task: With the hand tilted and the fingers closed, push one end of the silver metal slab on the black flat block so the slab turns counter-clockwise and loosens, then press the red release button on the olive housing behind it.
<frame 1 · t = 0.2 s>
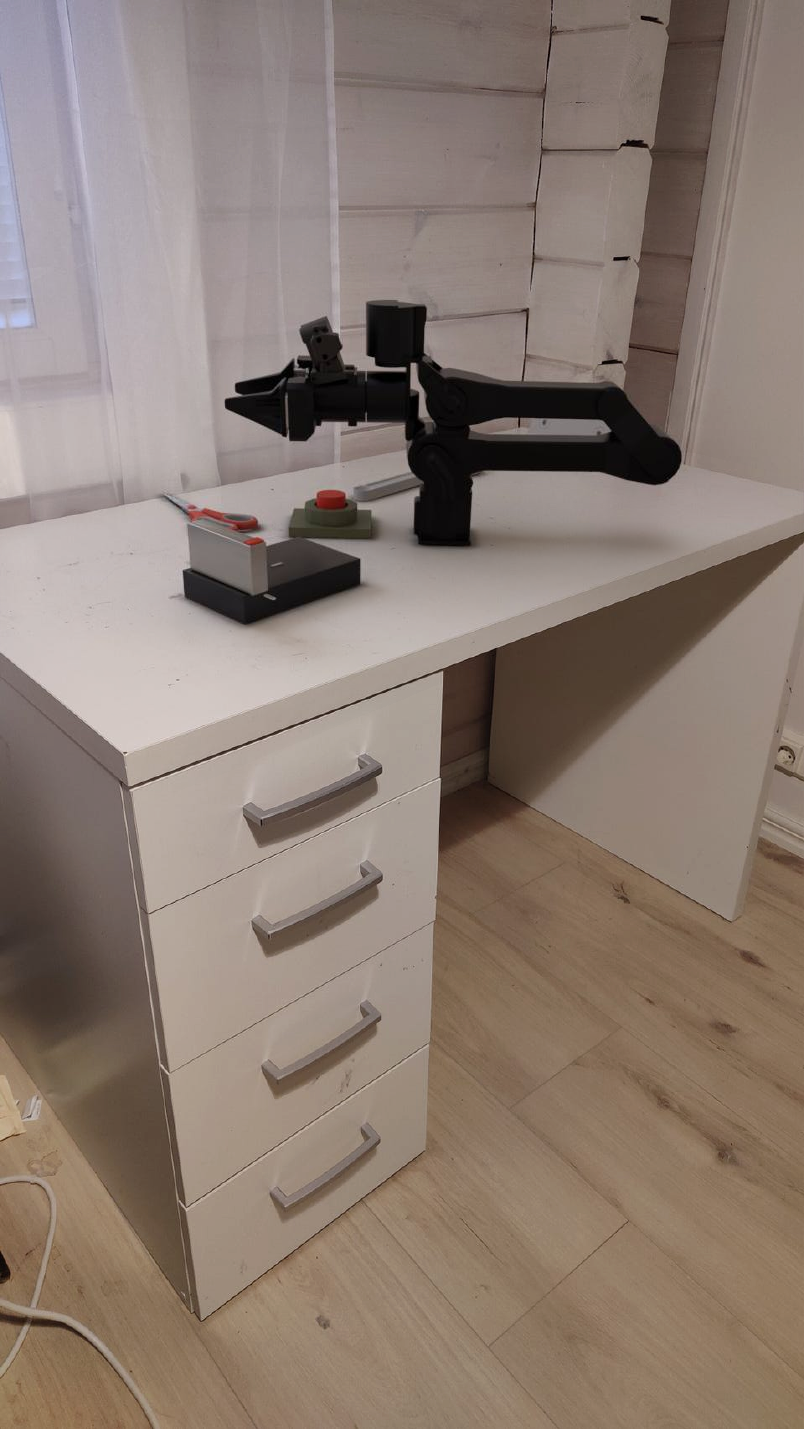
hand: (230, 395, 116), 17 cm above the table, tool horizontal, fingers open, 9 cm apart
hinge: (572, 456, 163), on the table
black flat block: (274, 590, 107), on the table
release button: (331, 500, 125), point 3 cm above the table, slide at 0.1 cm
adjustable wrench: (414, 483, 147), on the table
silver metal slab: (227, 555, 100), point 6 cm above the table, hinge at 0.0°
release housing: (331, 527, 127), on the table
scissors: (192, 518, 129), on the table
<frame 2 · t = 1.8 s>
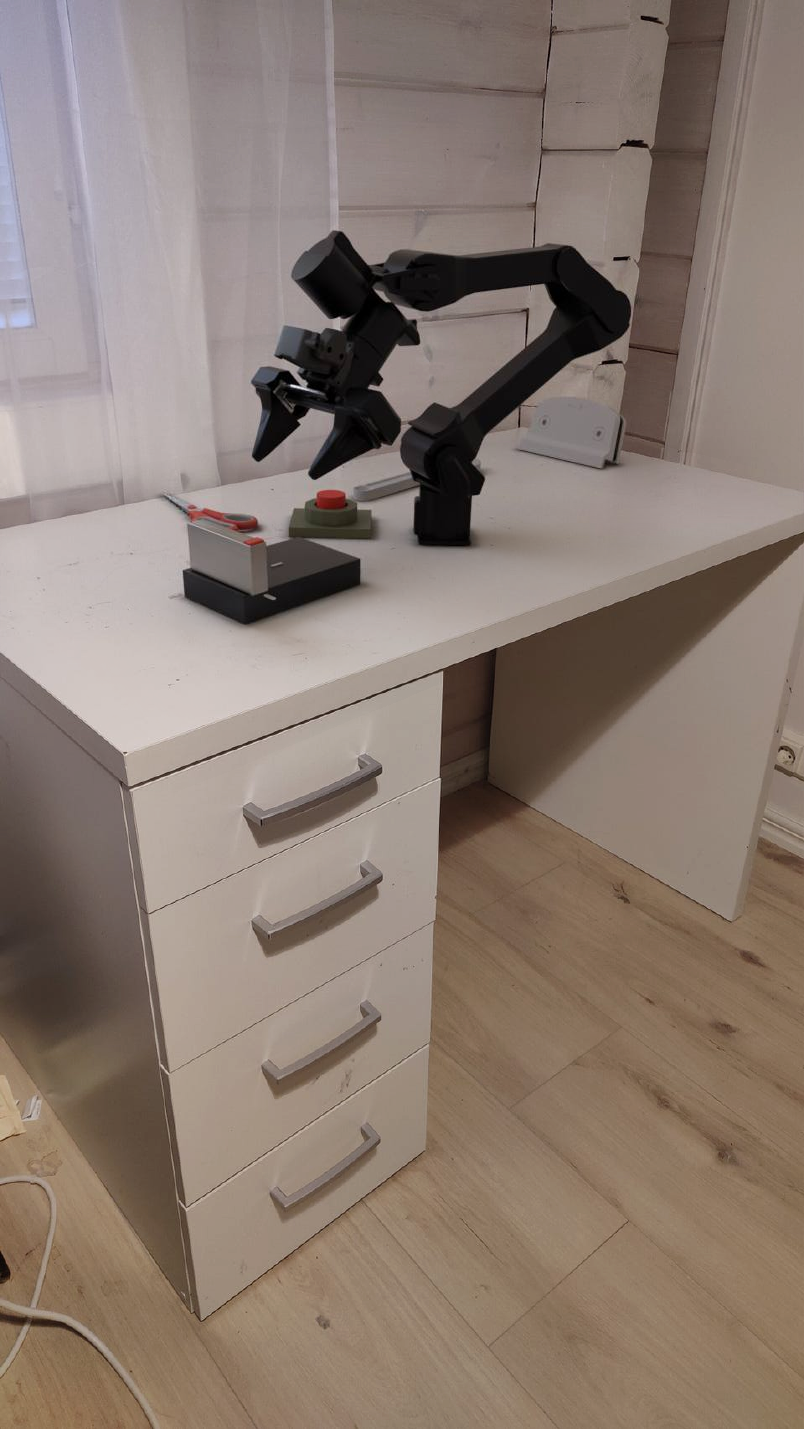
hand: (282, 468, 106), 12 cm above the table, tool tilted 45°, fingers open, 9 cm apart
nothing on the table moved.
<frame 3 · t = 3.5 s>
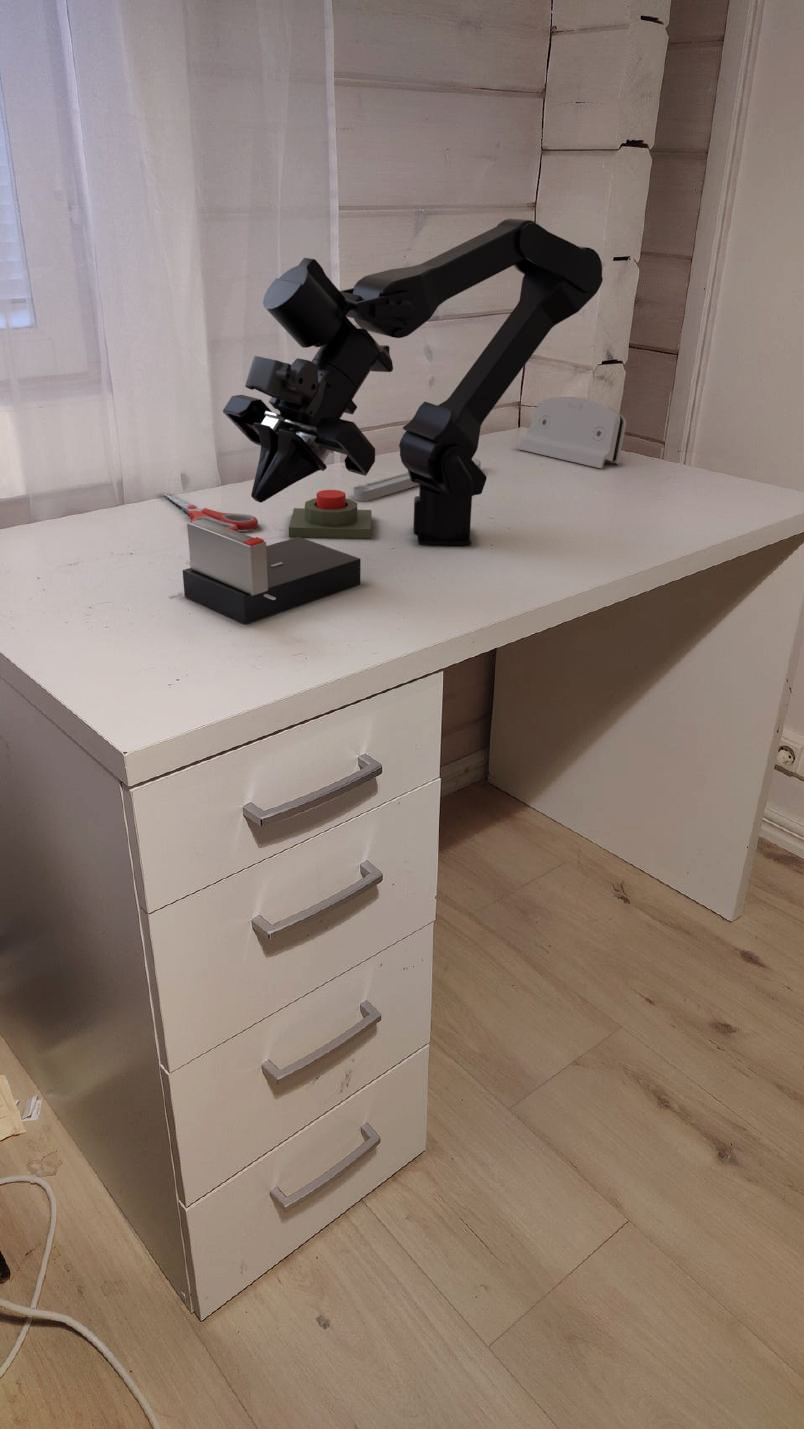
hand: (255, 499, 105), 9 cm above the table, tool tilted 45°, fingers closed
nothing on the table moved.
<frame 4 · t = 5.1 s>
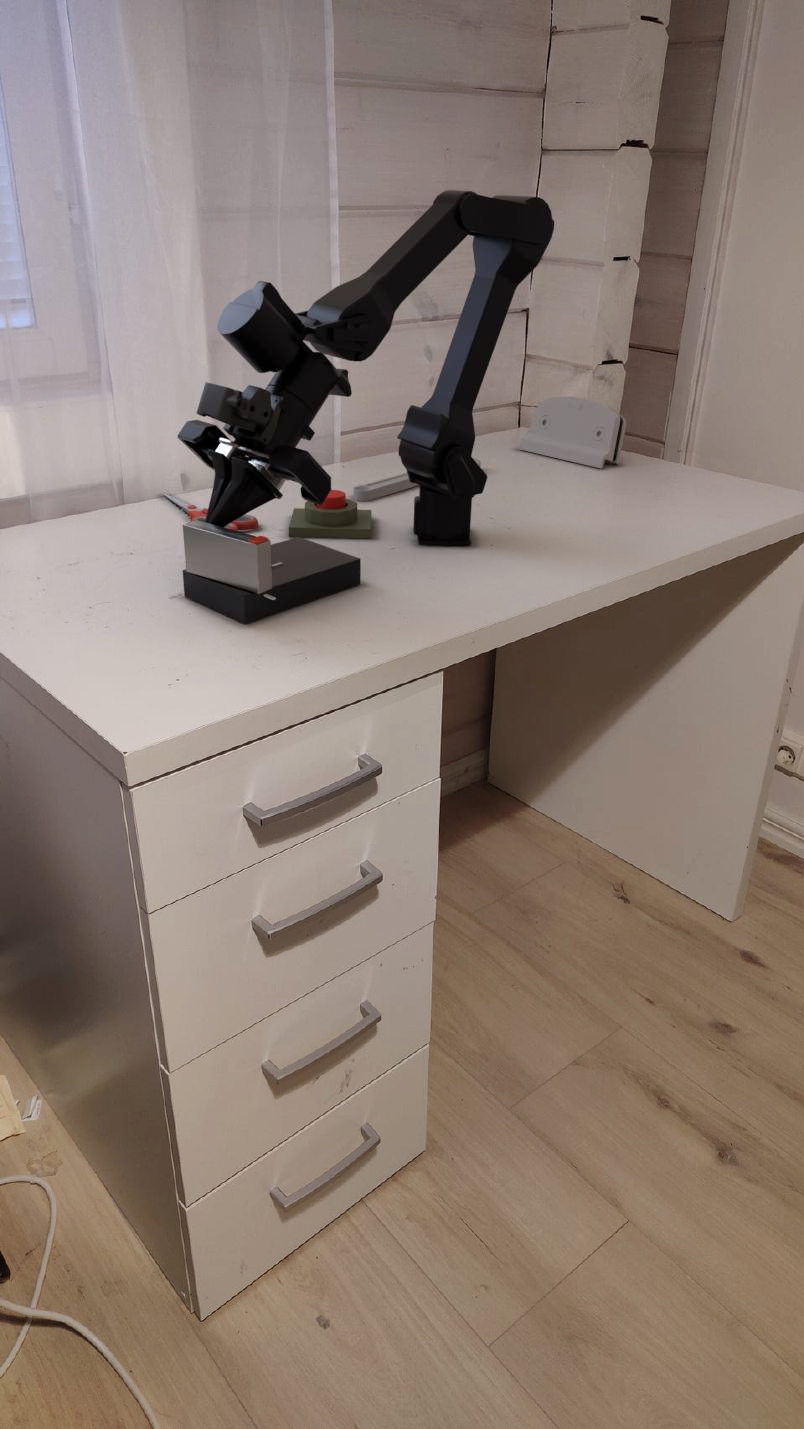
hand: (209, 529, 102), 7 cm above the table, tool tilted 45°, fingers closed, pressing on silver metal slab
silver metal slab: (227, 555, 100), point 6 cm above the table, hinge at 8.2°, touching gripper
everything else where it was.
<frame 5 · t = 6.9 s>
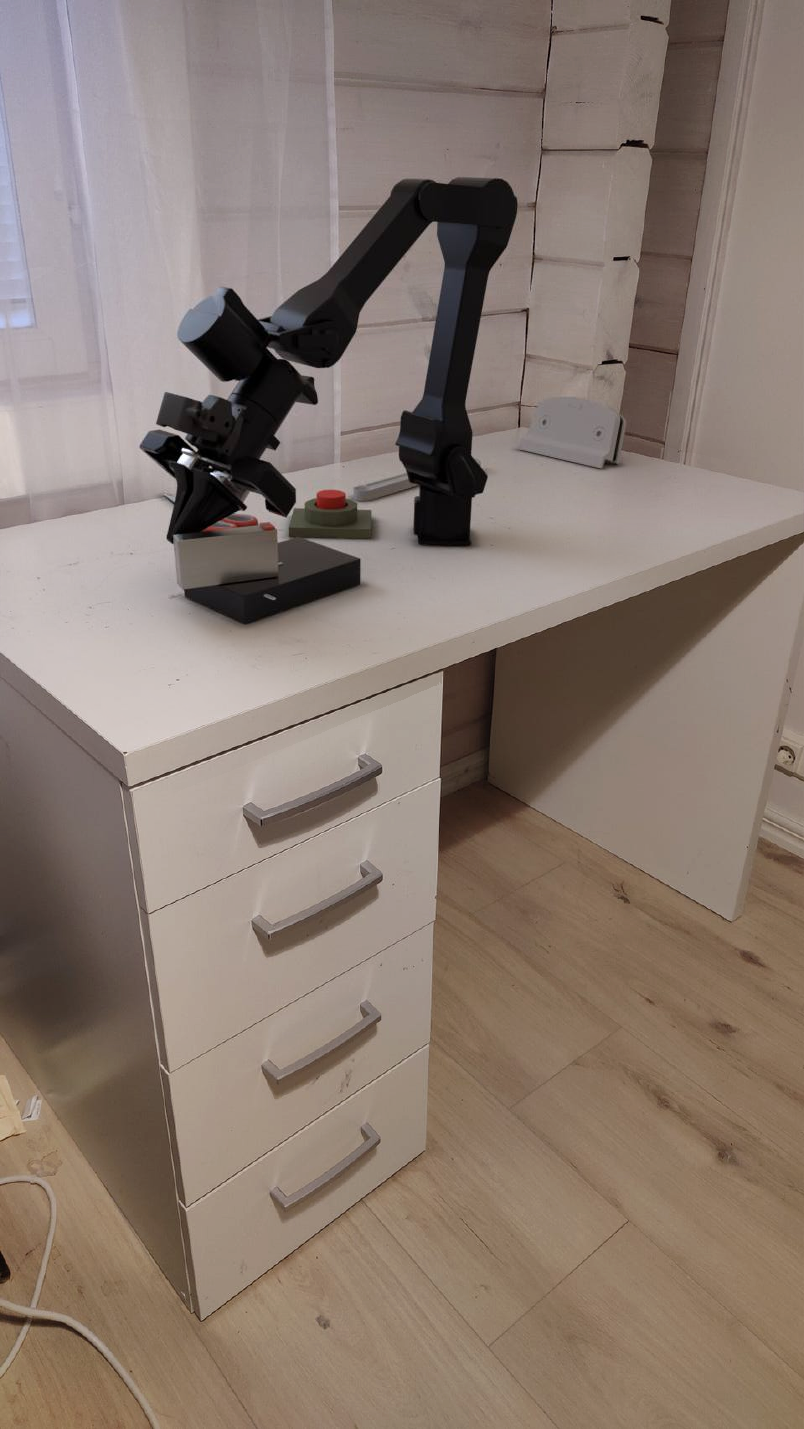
hand: (171, 542, 99), 7 cm above the table, tool tilted 45°, fingers closed
silver metal slab: (227, 555, 100), point 6 cm above the table, hinge at 68.5°
everything else where it was.
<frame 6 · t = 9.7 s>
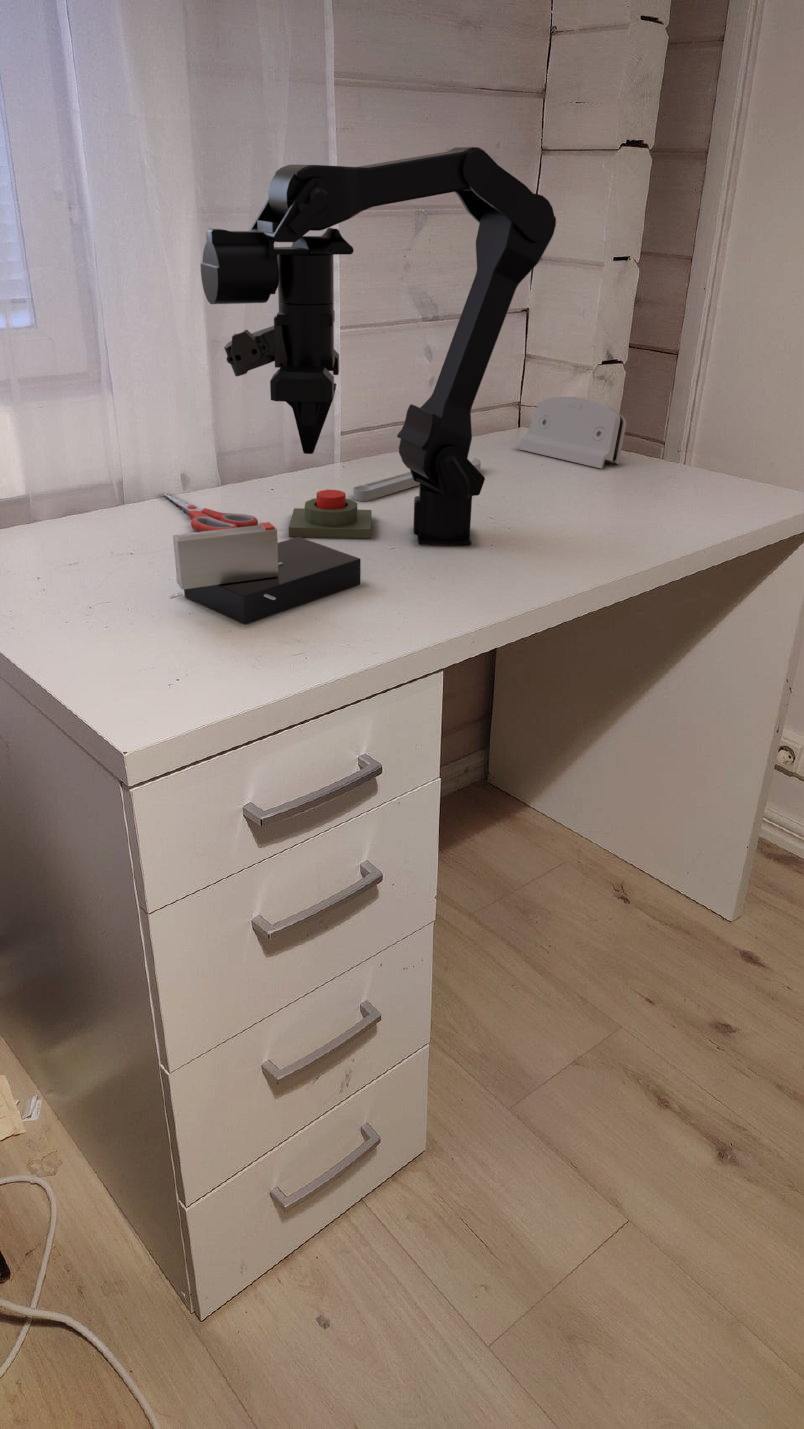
hand: (308, 453, 112), 12 cm above the table, tool pointing down, fingers closed
nothing on the table moved.
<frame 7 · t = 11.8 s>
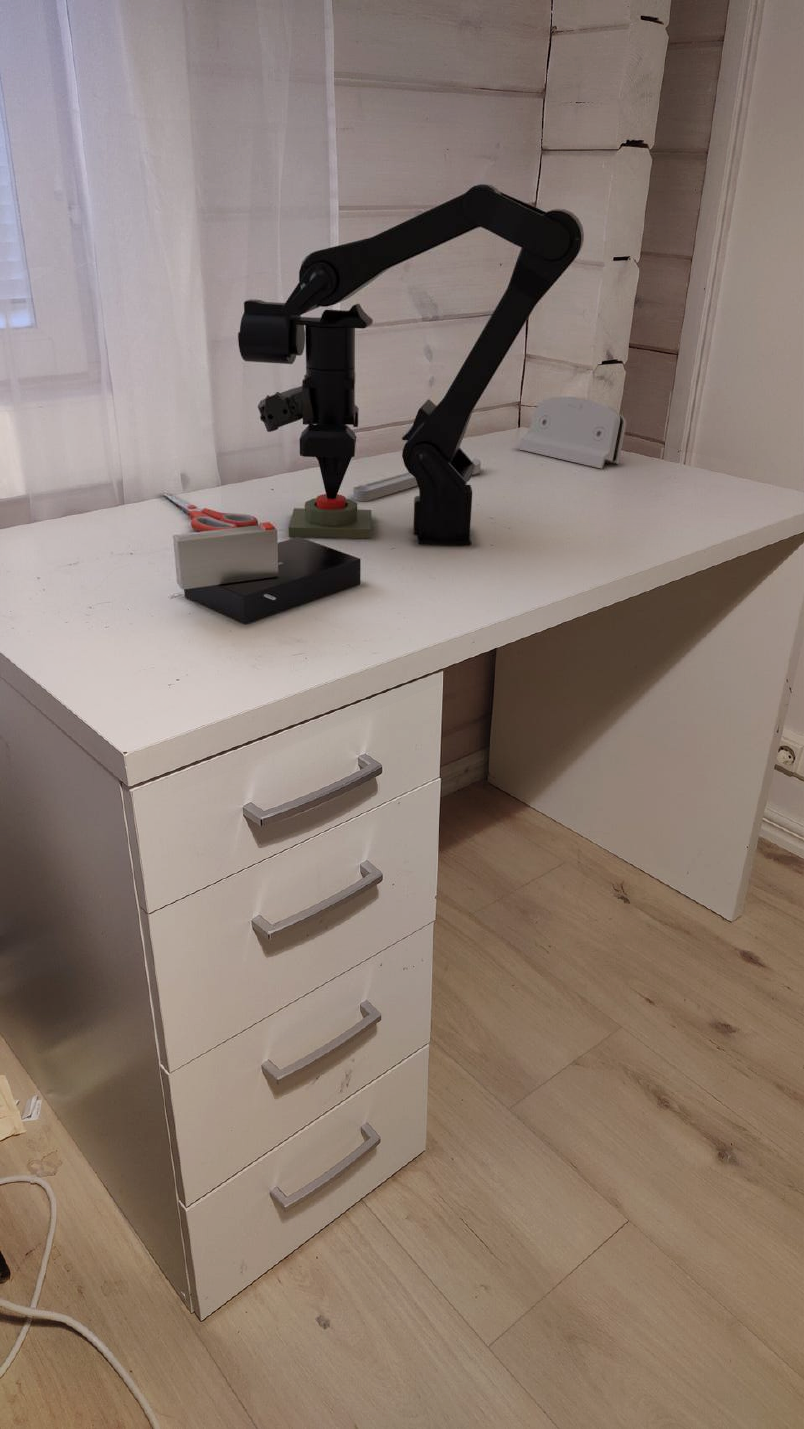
hand: (331, 497, 125), 4 cm above the table, tool pointing down, fingers closed, pressing on release button
release button: (331, 504, 126), point 3 cm above the table, slide at -0.4 cm, touching gripper
everything else where it was.
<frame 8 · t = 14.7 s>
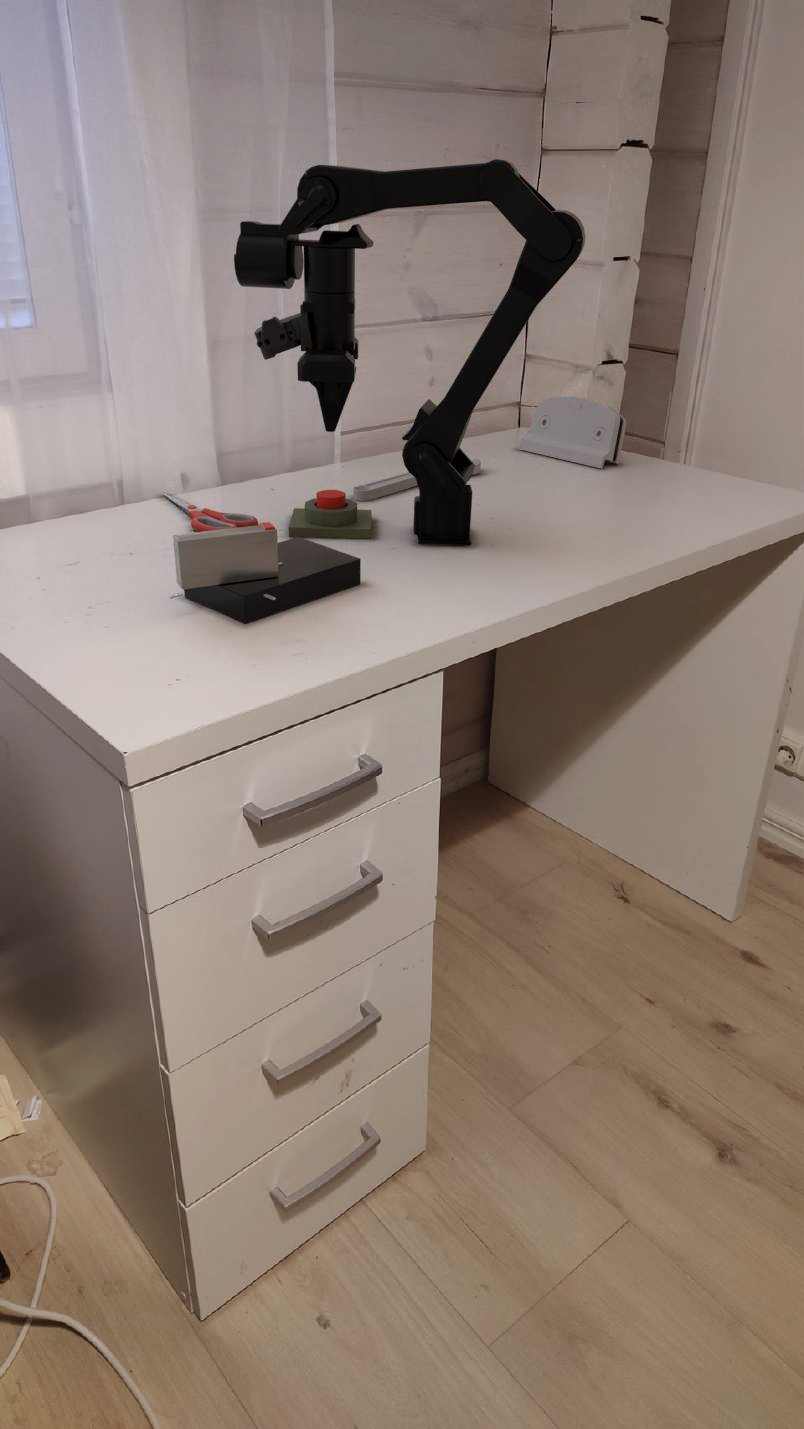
hand: (330, 431, 121), 12 cm above the table, tool pointing down, fingers closed
release button: (331, 500, 125), point 3 cm above the table, slide at 0.1 cm
everything else where it was.
at the end: silver metal slab at +68° (first picture: +0°); release button pushed in 1.1 cm at the most during the clip, back to where it started at the end; release button slide at 0.1 cm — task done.
